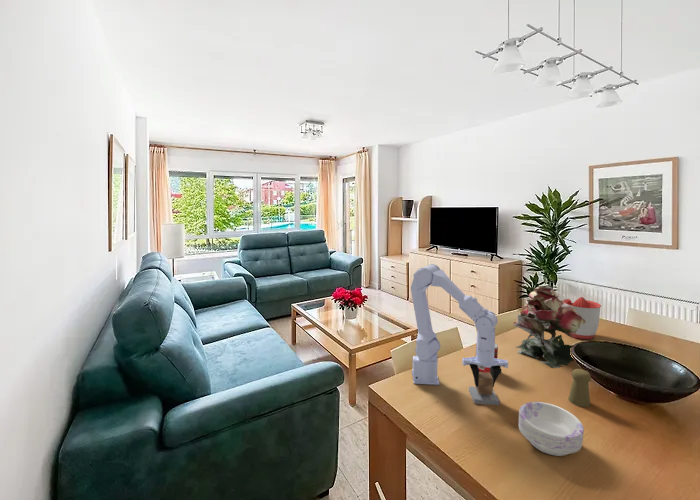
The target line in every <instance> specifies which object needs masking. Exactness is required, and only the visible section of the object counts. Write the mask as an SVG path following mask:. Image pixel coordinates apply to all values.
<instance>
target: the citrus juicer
mask: <svg viewBox="0 0 700 500" xmlns="http://www.w3.org/2000/svg"><path fill="white" fill-rule="evenodd" d="M562 301H563V303H564V304H568V305H570V306H573V307H574V308H575V310H576V312H577V313H578V314H579V315H580V316H581V317H582V318H584V320H585V323H584V324H581V325H580V328H579V329H577V331H576V333H569V334H571V335H573V336H572V338H574V339H582V340H592V339H593V338H594V337H595V335H596V334H597V331H598V328H599V323H600V315H601V307H602V305H601V303H599V302H595V301H592V300H586V299H585V298H584V297H583V296H580V297H579V298H577V299H576V300H575V301H574V302H572V300H571V299H570V298H567V299H563V300H562ZM574 336H575V337H574Z"/></svg>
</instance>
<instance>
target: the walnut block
mask: <svg viewBox="0 0 700 500" xmlns="http://www.w3.org/2000/svg"><path fill="white" fill-rule="evenodd" d="M475 387H476V388H477V391H478V393H479V394H491V395H493V390H494V387H493V378H492V376H491V374H490V373H489V372H479V377H478V386H476V385H475Z"/></svg>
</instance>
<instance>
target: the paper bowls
mask: <svg viewBox="0 0 700 500" xmlns="http://www.w3.org/2000/svg"><path fill="white" fill-rule="evenodd" d="M518 429H519V432H520V433H521V434H522V435H523V437H524V438H525V439H526V440H527V441H529V443H530V444H531V445H532V446H533V447H534V448H535V449H537V450H538V451H539V452H542V453H544V454H547V455H551V456H557V457H562V456H567V455H568V454H569V455H570V454H575V453H577V452H579V451H580V450H581V448H582V446H583V441H584V431H585V429H584V425H583V423H582V422H581V421H580V419H578V417H576V416H575V415H574V414H573V413H571V412H570V411H568V410H566V409H565V408H562V407H560V406H557V405H555V404H552V403H548V402H542V401H529V402H526V403H523V404H522V405H521V406H520V407H519V411H518Z"/></svg>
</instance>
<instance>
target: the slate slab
mask: <svg viewBox="0 0 700 500" xmlns="http://www.w3.org/2000/svg"><path fill="white" fill-rule="evenodd" d="M468 393H469V394H470V395H469V396H470V397H471V399H472V402H473V404H475V405H476V404H477V405H491V406H492V405H494V406H500V399H499V398H498V396H497V394H496V392H495V390H494V389H493V395H491V394H479V393H478V391H477V388H476V386H471V385H470V386H468Z"/></svg>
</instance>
